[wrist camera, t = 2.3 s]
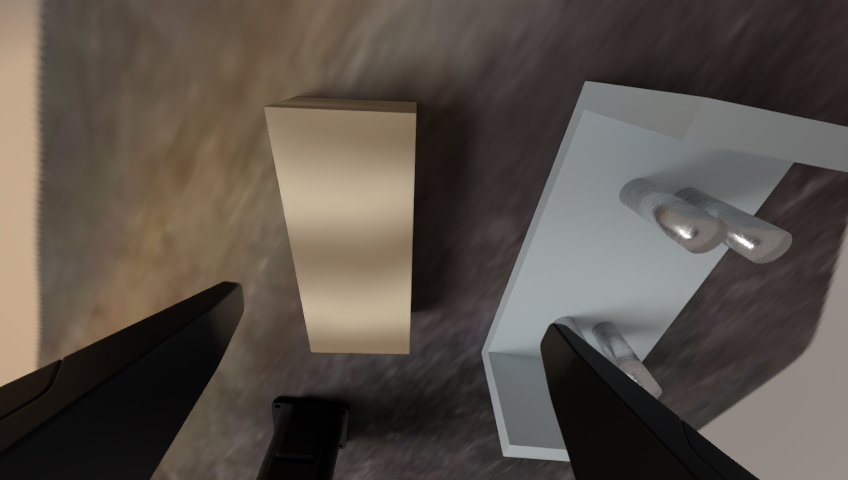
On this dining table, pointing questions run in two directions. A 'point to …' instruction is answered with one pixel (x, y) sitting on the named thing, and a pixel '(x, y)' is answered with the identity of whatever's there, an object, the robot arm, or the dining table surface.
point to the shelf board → (349, 217)
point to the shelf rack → (637, 234)
